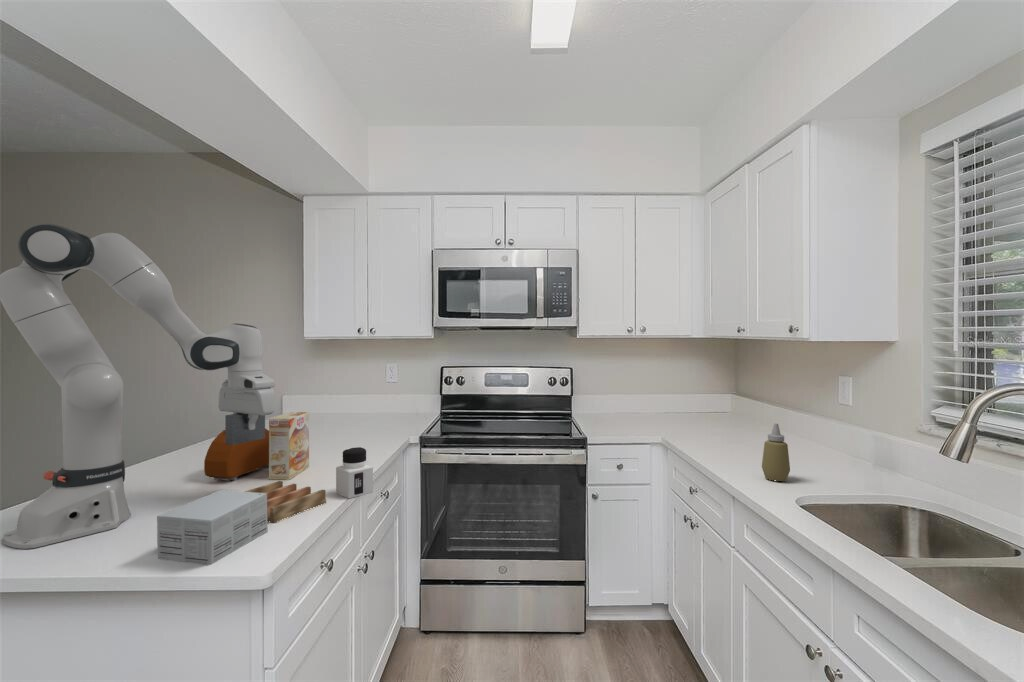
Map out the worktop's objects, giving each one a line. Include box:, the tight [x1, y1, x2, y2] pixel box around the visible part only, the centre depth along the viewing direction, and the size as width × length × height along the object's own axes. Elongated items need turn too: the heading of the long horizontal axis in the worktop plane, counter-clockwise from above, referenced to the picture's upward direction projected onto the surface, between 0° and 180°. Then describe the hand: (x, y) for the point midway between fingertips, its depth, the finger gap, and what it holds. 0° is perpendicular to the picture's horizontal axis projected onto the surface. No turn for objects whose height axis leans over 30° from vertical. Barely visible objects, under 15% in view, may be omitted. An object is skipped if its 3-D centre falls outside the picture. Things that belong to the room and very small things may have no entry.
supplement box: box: [156, 489, 268, 566], centre depth 106 cm, size 17×13×9 cm
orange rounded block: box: [203, 427, 269, 482], centre depth 162 cm, size 23×9×17 cm, turn 169°
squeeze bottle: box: [761, 423, 791, 482], centre depth 156 cm, size 8×8×18 cm
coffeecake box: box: [268, 411, 310, 480], centre depth 161 cm, size 15×7×20 cm, turn 179°
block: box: [224, 413, 266, 445], centre depth 139 cm, size 10×3×8 cm, turn 153°
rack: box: [243, 480, 327, 524], centre depth 130 cm, size 16×19×4 cm
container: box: [335, 446, 374, 499], centre depth 141 cm, size 8×8×13 cm
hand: (245, 428), depth 139 cm, fingers closed on block, 3 cm apart
